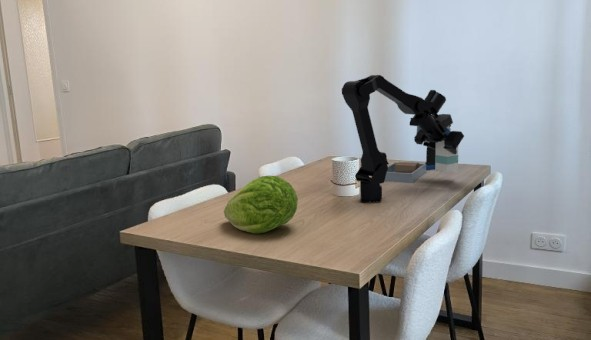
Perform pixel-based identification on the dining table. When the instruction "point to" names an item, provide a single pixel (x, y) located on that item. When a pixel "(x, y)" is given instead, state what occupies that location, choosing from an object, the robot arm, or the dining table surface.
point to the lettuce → (262, 205)
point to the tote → (404, 174)
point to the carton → (445, 159)
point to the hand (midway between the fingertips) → (449, 152)
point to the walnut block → (406, 167)
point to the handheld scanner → (432, 153)
